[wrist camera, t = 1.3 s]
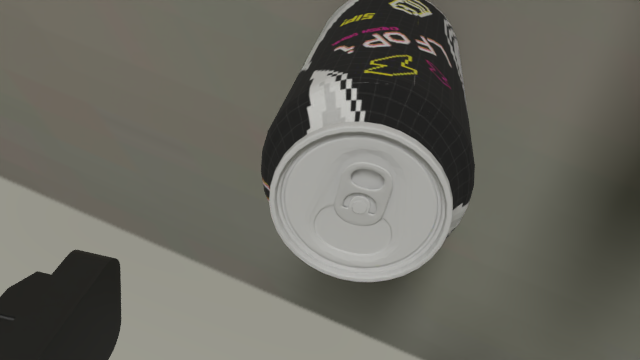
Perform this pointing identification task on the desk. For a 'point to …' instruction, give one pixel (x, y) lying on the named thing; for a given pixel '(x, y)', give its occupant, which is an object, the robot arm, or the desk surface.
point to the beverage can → (372, 143)
